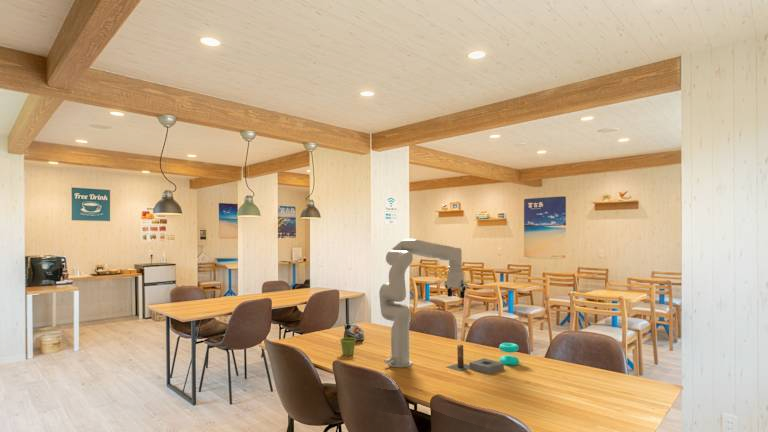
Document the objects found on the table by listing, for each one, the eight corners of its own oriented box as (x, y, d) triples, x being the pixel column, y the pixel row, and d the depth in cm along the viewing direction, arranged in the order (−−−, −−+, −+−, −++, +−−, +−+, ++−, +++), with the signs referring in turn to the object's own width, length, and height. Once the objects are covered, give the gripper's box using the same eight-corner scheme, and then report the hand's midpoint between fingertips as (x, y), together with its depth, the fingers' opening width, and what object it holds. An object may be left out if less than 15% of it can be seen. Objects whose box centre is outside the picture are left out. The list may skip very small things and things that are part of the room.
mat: (460, 372, 218) (460, 371, 218) (445, 367, 226) (445, 367, 226) (475, 367, 226) (475, 366, 226) (460, 363, 233) (460, 362, 233)
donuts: (498, 341, 239) (517, 342, 237) (499, 360, 238) (518, 361, 236) (499, 346, 229) (519, 347, 227) (500, 365, 229) (520, 366, 227)
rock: (368, 338, 294) (369, 322, 288) (358, 349, 285) (359, 332, 279) (349, 330, 300) (349, 314, 294) (339, 340, 291) (339, 323, 285)
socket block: (489, 375, 213) (489, 367, 214) (469, 369, 223) (469, 362, 223) (503, 370, 221) (503, 363, 221) (484, 365, 230) (484, 358, 230)
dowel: (461, 368, 224) (460, 346, 224) (456, 366, 226) (456, 345, 227) (464, 367, 226) (464, 345, 226) (460, 365, 228) (459, 344, 228)
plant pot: (357, 352, 258) (357, 337, 259) (354, 356, 249) (354, 341, 249) (341, 352, 259) (341, 337, 260) (338, 356, 250) (338, 341, 250)
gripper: (440, 268, 268) (440, 296, 267) (462, 269, 255) (463, 299, 254) (448, 267, 273) (449, 295, 272) (470, 268, 260) (471, 298, 259)
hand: (456, 297), depth 263 cm, fingers open, 9 cm apart
